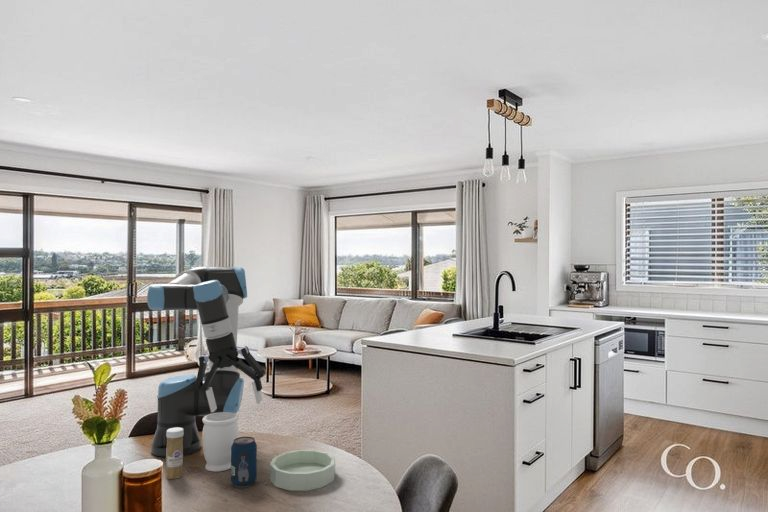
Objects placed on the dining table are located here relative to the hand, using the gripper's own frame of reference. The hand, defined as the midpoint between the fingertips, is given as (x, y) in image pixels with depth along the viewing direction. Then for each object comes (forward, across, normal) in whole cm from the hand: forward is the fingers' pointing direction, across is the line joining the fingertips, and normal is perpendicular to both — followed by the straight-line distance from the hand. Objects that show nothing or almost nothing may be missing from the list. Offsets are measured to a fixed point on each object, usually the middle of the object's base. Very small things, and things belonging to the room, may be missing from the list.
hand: (236, 406), depth 148 cm
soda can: (+20, -1, -6) cm, 21 cm away
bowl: (+24, +14, -1) cm, 28 cm away
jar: (+19, -12, +4) cm, 23 cm away
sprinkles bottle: (+16, -22, -3) cm, 27 cm away
